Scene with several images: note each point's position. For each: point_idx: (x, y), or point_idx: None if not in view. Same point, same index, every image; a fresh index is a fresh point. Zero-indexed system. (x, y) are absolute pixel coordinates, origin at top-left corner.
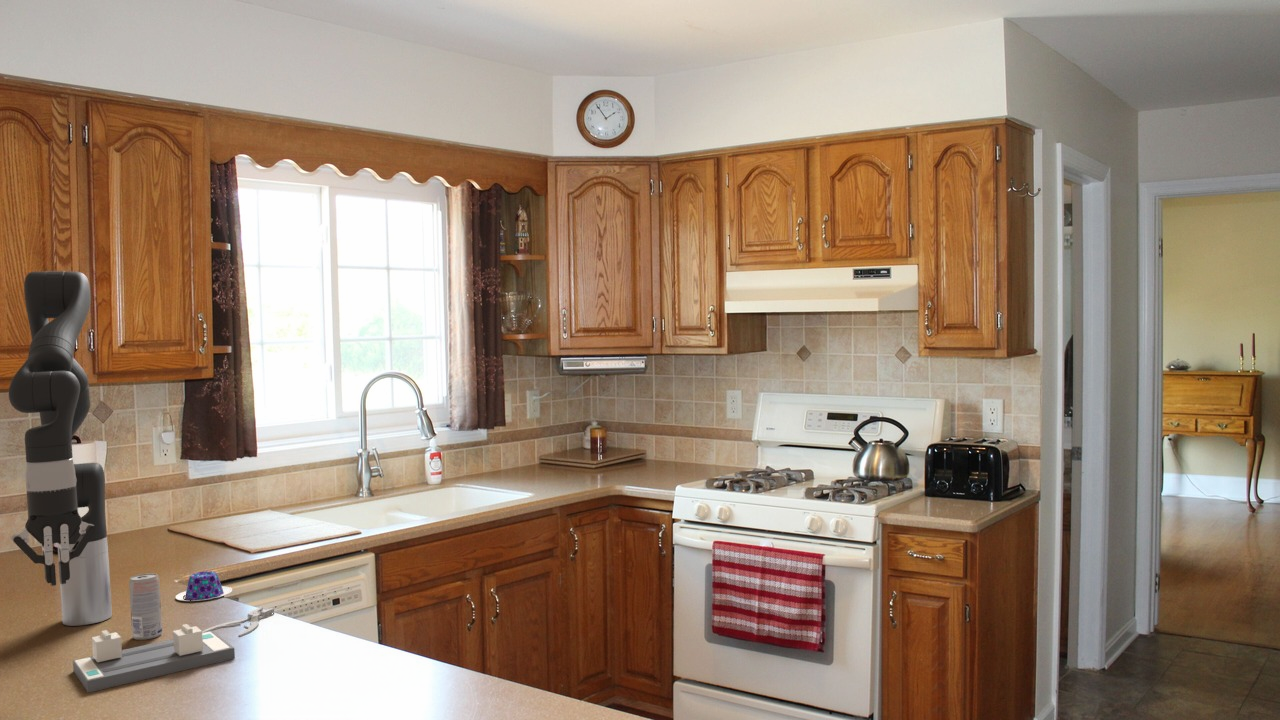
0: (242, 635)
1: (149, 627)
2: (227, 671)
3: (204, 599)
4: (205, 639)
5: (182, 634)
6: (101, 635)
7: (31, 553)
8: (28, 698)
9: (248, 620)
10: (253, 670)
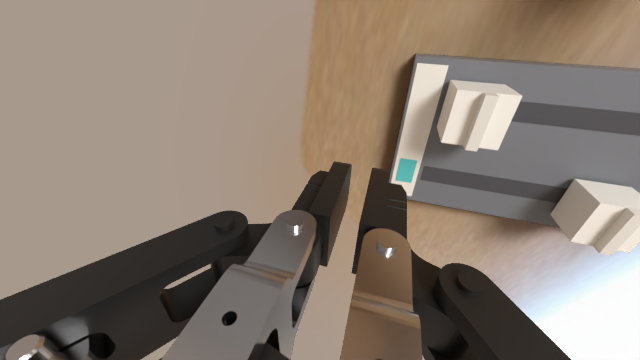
0: None
1: None
2: (565, 264)
3: None
4: None
5: (584, 239)
6: (481, 94)
7: (188, 310)
8: (322, 140)
9: None
10: (588, 288)
